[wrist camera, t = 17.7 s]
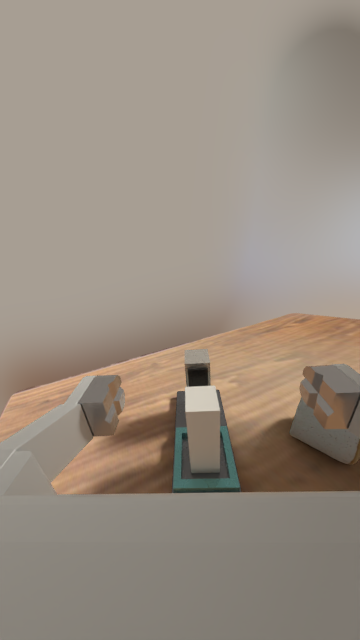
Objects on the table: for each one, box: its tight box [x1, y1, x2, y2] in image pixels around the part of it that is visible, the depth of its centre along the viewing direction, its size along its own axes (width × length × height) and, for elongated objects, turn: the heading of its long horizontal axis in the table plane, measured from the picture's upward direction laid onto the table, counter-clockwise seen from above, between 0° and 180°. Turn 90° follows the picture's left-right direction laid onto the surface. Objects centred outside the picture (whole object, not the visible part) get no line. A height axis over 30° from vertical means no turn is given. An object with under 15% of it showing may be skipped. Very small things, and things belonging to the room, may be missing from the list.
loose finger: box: [185, 386, 220, 473], centre depth 26 cm, size 4×4×12 cm
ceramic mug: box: [289, 397, 360, 465], centre depth 30 cm, size 11×8×8 cm
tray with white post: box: [172, 349, 241, 493], centre depth 30 cm, size 18×9×14 cm, turn 179°
